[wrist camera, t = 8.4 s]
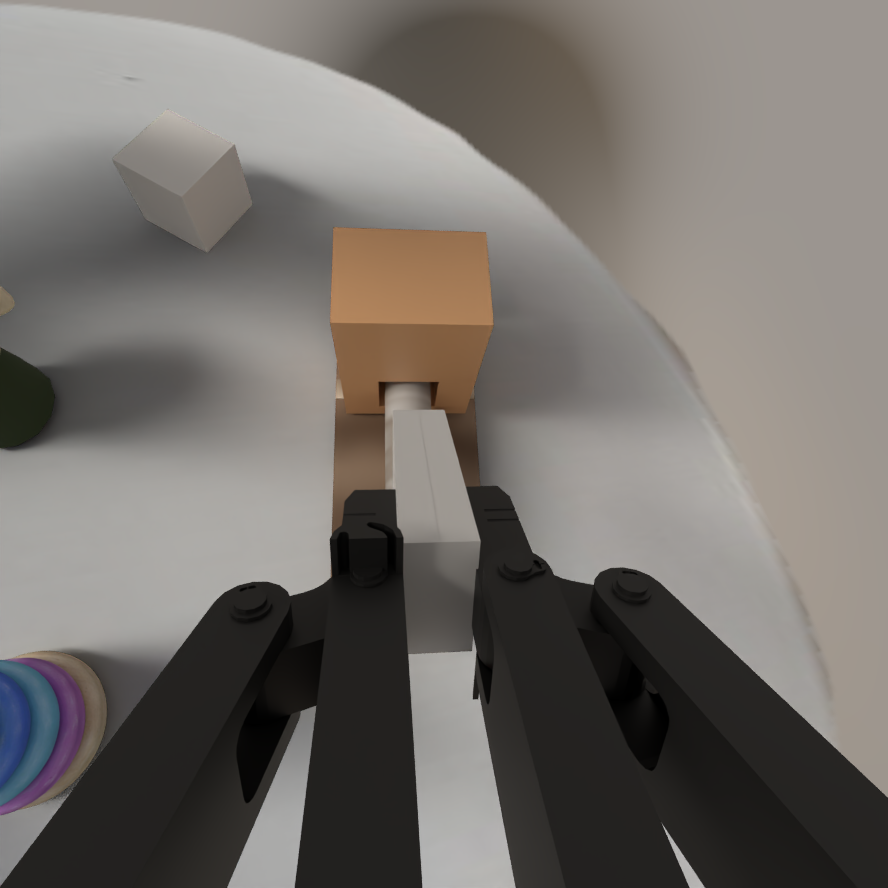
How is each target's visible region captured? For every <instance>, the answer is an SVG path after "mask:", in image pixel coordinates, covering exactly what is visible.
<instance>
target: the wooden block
mask: <svg viewBox="0 0 888 888" xmlns="http://www.w3.org/2000/svg"><path fill="white" fill-rule="evenodd" d="M330 324H331V330H332V336H333V341H334V347H335V352H336V358H337V363H338V369H339V375H340V380H341V386H342V391H343V397H344V402H345V408H346V414H385V382H430V389H431V410H445V413H466V410H467V406H468V403H469V400H470V397H471V394H472V391H473V388H474V385H475V382H476V379H477V375H478V372H479V369H480V366H481V363H482V360H483V357H484V354H485V351H486V348H487V344H488V341H489V338H490V335H491V332H492V329H493V326H494V323H493V310H492V298H491V286H490V274H489V262H488V250H487V237H486V232H461V231H431V230H400V229H370V228H339V227H333V256H332V285H331V314H330Z"/></svg>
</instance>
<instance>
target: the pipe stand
mask: <svg viewBox="0 0 888 888" xmlns="http://www.w3.org/2000/svg"><path fill="white" fill-rule="evenodd" d="M474 399H475V398H474V388H473V391H472V394H471V397H470V400H469V403H468V406H467V410H466V413H445V414H446V418H447V421H448V425H449V428H450V432H451V436H452V439H453V443H454V447H455V450H456V454H457V457H458V461H459V465H460V468H461V472H462V476H463V479H464V483H465V486H466V487H469V486H480V478H479V463H478V448H477V432H476V417H475V401H474ZM393 410H431V389H430V382H385V414H346V408H345V402H344V397H343V391H342V386H341V380H340V375H339V369H338V363H337V378H336V413H335V447H334V482H333V517H332V534H333V532H334V531H335V530H336V529H337V528H339V527H340V526H341V525H342V520H343V511H344V502H345V500H346V499H347V498H348V497H349V496H350V494H351V493H352V492H353V491H354V490H378V489H393ZM331 577H332V569H331Z"/></svg>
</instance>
